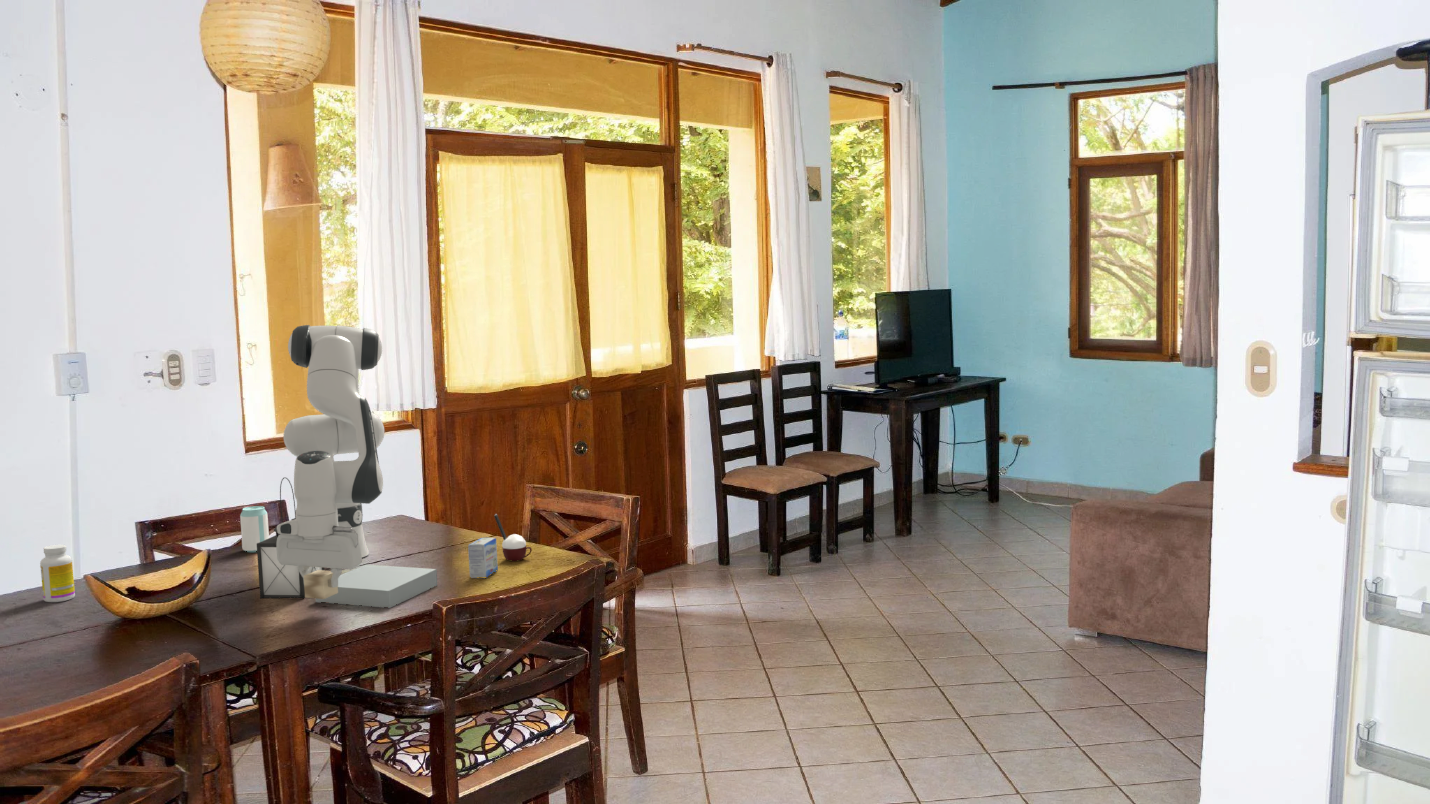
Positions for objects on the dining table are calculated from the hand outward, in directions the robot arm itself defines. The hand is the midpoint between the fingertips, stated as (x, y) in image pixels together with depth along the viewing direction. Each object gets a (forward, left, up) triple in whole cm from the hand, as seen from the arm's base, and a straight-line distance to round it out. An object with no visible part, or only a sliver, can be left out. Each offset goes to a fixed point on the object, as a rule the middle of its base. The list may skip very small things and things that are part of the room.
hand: (321, 585), depth 258 cm
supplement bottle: (-71, -5, -7) cm, 71 cm away
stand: (+2, +18, -7) cm, 19 cm away
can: (-59, +49, -7) cm, 77 cm away
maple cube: (0, 0, -2) cm, 2 cm away
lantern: (-19, +14, -7) cm, 24 cm away
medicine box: (+18, +40, -7) cm, 44 cm away
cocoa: (+18, +56, -7) cm, 59 cm away
